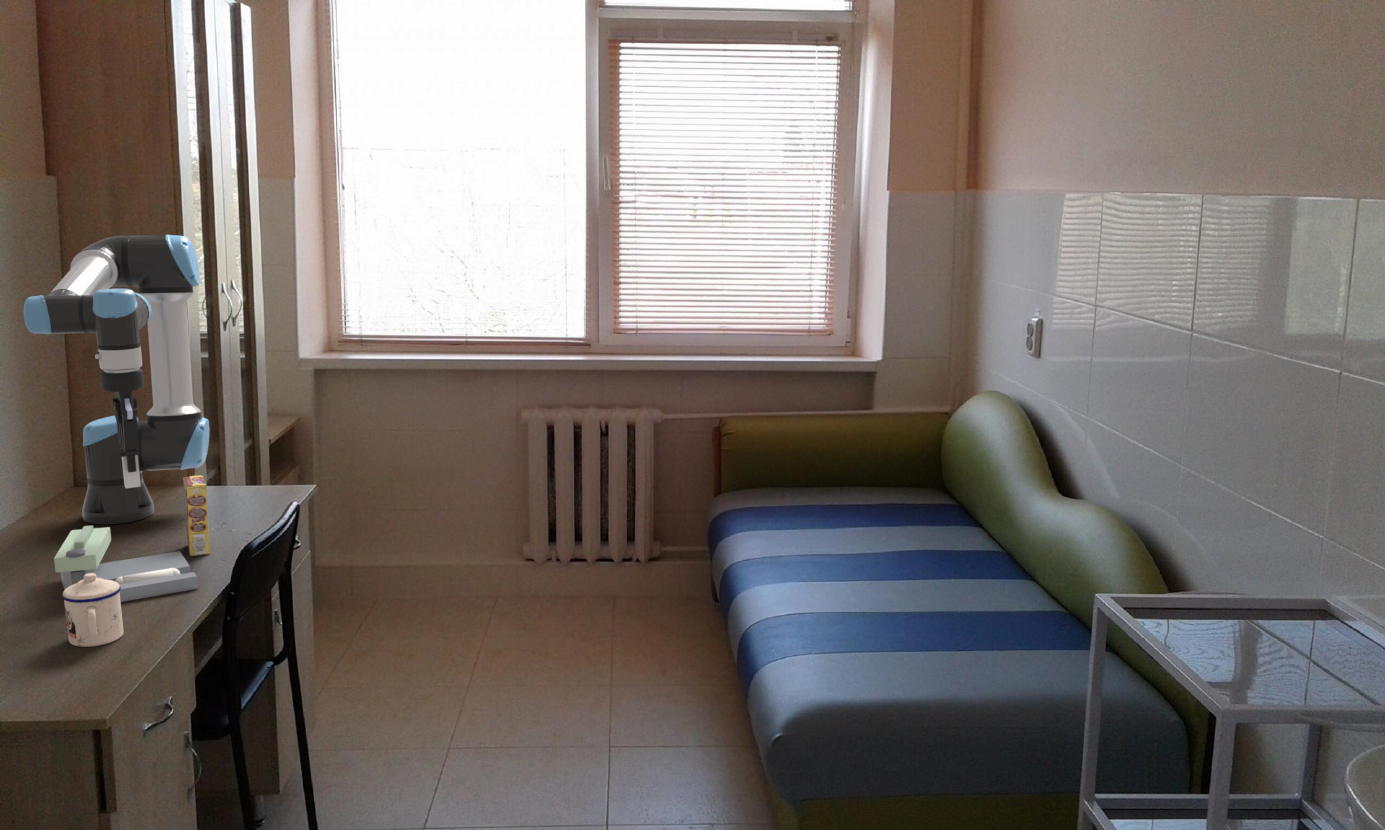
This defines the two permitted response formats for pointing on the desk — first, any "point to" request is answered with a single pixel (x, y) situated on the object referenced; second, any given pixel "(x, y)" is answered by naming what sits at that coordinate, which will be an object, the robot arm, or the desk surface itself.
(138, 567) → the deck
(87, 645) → the teacup with lid
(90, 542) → the cover
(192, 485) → the candy box
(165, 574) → the white rounded rod
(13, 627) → the desk surface
